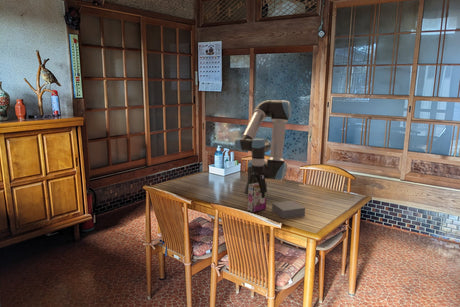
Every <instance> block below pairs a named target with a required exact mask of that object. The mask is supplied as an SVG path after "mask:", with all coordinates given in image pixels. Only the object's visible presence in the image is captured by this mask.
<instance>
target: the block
mask: <svg viewBox="0 0 460 307" xmlns="http://www.w3.org/2000/svg"><path fill="white" fill-rule="evenodd" d="M271 205H272V206H271V211H272V212H274V213H275V214H276V215H278V216H279V217H280V218H282V219H290V218H291V219H292V218H297V217H304V216H306V208H305V207H304V206H302V205H301V204H299V203H298V202H296V201H294V200H287V201H286V200H285V201H279V202H278V201H277V202H272V204H271Z"/></svg>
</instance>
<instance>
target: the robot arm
mask: <svg viewBox="0 0 460 307" xmlns="http://www.w3.org/2000/svg"><path fill="white" fill-rule="evenodd" d="M251 113H252V116H251V118H250V120H249V122H248V123H247V126H246V128H245V130H244V132H243V134H242V136H241V138H240V137H239V138H238V137H237V138H235V141H234V149H235V150H237V151H240V152H251V160H249V161H248V162H247V181H246V184H245V187H244V193H246V194H248V184H253V183H258V184H259V187H260V190H261V191H260V203H265V192H267V193H268V189H267V188H266V183H267V182H266V180H275V181H283V180H284V179H285V176H286V173H287V169H288V166H287V163H286V162H285V160H284V158H283V155H284V147H285V146H284V144H285V136H286V124H287V122H288V121H289V119H291V118H292V115H293V114H292V105H291V103H290V101H288V100H284V99H283V100H276V99H275V100H274V99H272V100H269V99H268V100H264V101H262V102H260V103H259V104H257V106H255V108H254V109H253V111H252V112H251ZM266 118H270V119H271V121H272V130H271V131H272V132H271V141H270V139H264V138H256V135H257V133H258V132H259V128H260V127H261V125H262V122H263V121H265V119H266ZM269 151H270V152H269ZM267 152H269V153H270V154H269V157H268V158H267V161H266V158H265V156H266V153H267Z"/></svg>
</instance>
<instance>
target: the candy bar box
mask: <svg viewBox="0 0 460 307" xmlns="http://www.w3.org/2000/svg"><path fill="white" fill-rule="evenodd" d="M267 187H268V183H267V182H266V188H267ZM260 191H261V190H260V187H259V184H258V183H253V184H248V193H247V211H248V212H250V213H255V212H259V211H263V210H266V208H267V193H268V191H267V192H265V203H260Z"/></svg>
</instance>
